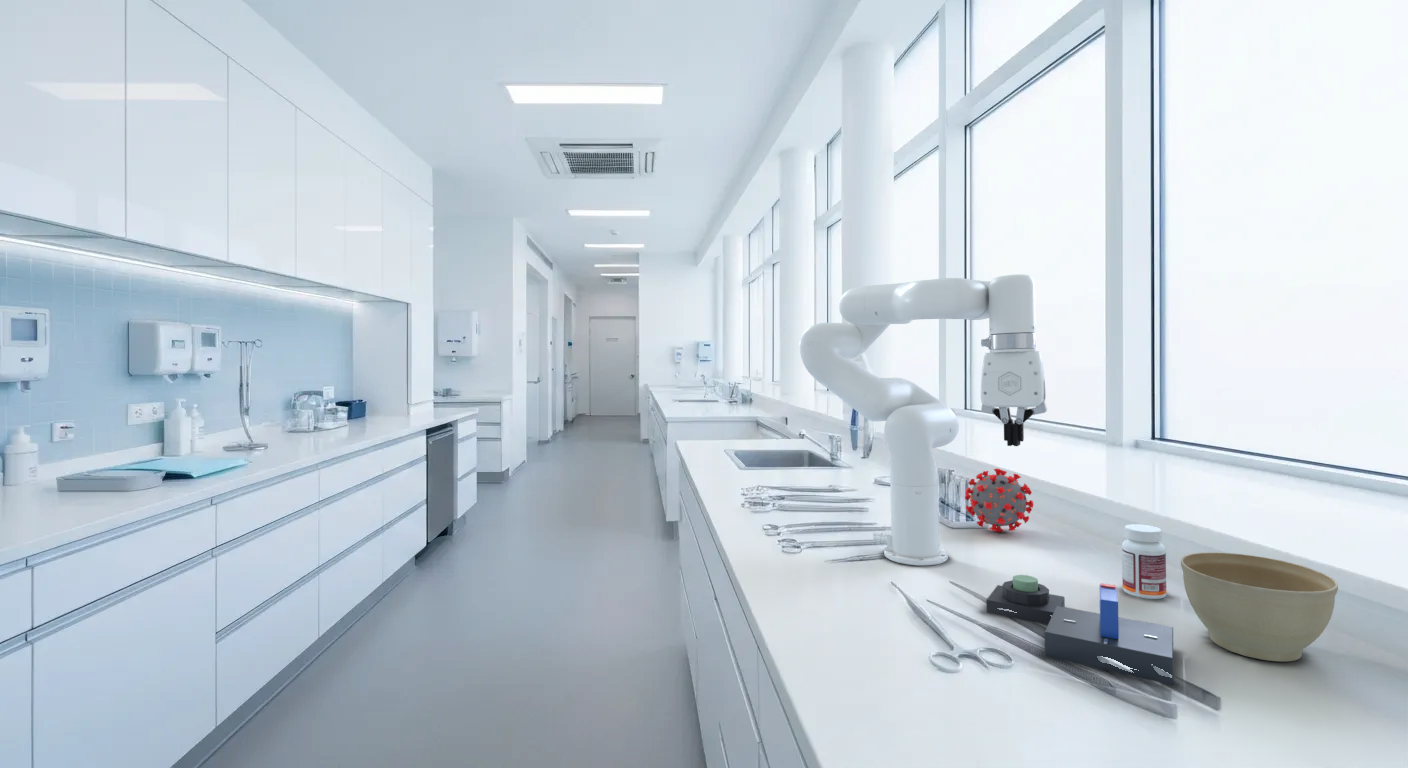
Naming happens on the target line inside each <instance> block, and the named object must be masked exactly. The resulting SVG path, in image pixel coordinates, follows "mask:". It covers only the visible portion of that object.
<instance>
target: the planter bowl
mask: <svg viewBox="0 0 1408 768" xmlns="http://www.w3.org/2000/svg"><path fill="white" fill-rule="evenodd" d="M1180 567H1181V571H1182V579H1183V586H1184V589H1185V593H1186V596H1187V599H1188V601H1189V603H1190V605H1191V607H1192V609H1193V611H1194V613H1195V614H1196V616H1197V618H1198V619H1199V620H1200V622H1201V623H1202V624H1203V625H1204V627H1205V628H1206V629H1207V633H1208V636H1209V639H1210V640H1211V641H1212V642H1213V643H1214V644H1216V645H1217V646H1218V647H1220V648H1223V649H1225V650H1227V651H1230V652H1232V653H1235V654H1238V655H1241V656H1245V657H1249V658H1253V659H1258V660H1262V661H1270V662H1281V663H1282V662H1283V663H1284V662H1294V661H1298V660H1300V659H1301V657H1302V655H1303V652H1304V649H1307V647H1309V646H1310V645H1312V644H1313V643H1314V642H1315V641H1316V640H1317V639H1318V638H1319V637H1320V636H1321V635H1322V634H1323V633H1324V631H1325V629H1326V628H1327V627H1328V625H1329V623H1330V621H1331V618H1332V616H1333V613H1334V608H1335V601H1336V595H1337V593H1338V591H1339V584H1338V582H1337V580H1336V579H1334V578H1333V577H1332V576H1330V575H1327V574H1326V573H1323V572H1322V571H1319V570H1316V569H1313V568H1310V567H1307V566H1304V565H1301V564H1297V563H1294V562H1290V561H1286V560H1282V559H1281V560H1280V559H1276V558H1271V557H1264V556H1258V555H1253V554H1243V553H1236V552H1235V553H1234V552H1219V551H1218V552H1217V551H1216V552H1215V551H1213V552H1209V551H1208V552H1194V553H1189V554H1186V555H1183V556H1182V557H1180Z"/></svg>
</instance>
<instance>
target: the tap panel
mask: <svg viewBox="0 0 1408 768" xmlns="http://www.w3.org/2000/svg"><path fill="white" fill-rule="evenodd" d="M1118 625H1119V639H1114V638H1108V637H1102V636H1101V633H1100V612H1093V611H1087V610H1082V609H1077V608H1071V607H1066V606H1065V607H1061V606H1056V609H1055V611H1054V613H1053V615H1052V617H1051V619H1050V622H1049V624H1048V625H1047V626H1046V628H1045V629H1044V630H1045V631H1044V657H1046V658H1051V659H1055V660H1060V661H1064V662H1069V663H1073V664H1077V665H1082V666H1086V667H1091V668H1094V669H1098V670H1104V671H1108V672H1112V673H1116V674H1121V675H1126V676H1130V677H1135V678H1138V679H1144V680H1146V681H1147V680H1148V681H1151V682H1157V683H1160V684H1166V685H1169V686H1174V677H1173V678H1170V677H1165V676H1161V675H1159V674H1158V673H1157V672H1156V671H1155V670H1154V668H1153V666H1156V667H1158V668H1160V669H1163V670H1164V671H1165V672H1168V673H1169V674H1171V675H1173V676H1174V627H1173V626H1169V625H1164V624H1159V623H1153V622H1148V621H1142V620H1138V619H1132V618H1126V617H1121V616H1118ZM1097 656H1103V657H1108V658H1111V659H1114V660H1116V661H1118V662H1120V663H1122V664H1123V665H1126V666H1128V667H1130V668H1133V669H1130V670H1132V671H1133V672H1134V673H1133V672H1132V673H1131V672H1128V671H1125V670H1122V669H1119V668H1118V667H1115V666H1113V665H1111V664H1107V663H1102V662H1100V661H1099V660H1098V658H1097ZM1151 664H1153V666H1151ZM1134 669H1137V670H1134ZM1138 670H1139V671H1138Z"/></svg>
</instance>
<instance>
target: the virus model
mask: <svg viewBox="0 0 1408 768" xmlns="http://www.w3.org/2000/svg"><path fill="white" fill-rule="evenodd" d="M993 471H994V472H995V474H989V470H983V471H982V472H980V473H978V474H977V475H976V476H975V478H976V479H975V478H971V479H969V481H968V485H969V487H967V488H966V489H965V496H964V500H966V501H967V502H968V501H969V502H970V506H968V505H966V506H965V510H966V511H967V512H968V513H969V514H970V515H971V517H974V516H975V515H976V516H977V519H978V520H977V521H976V524H977V526H978V527H980V528H984V523H985V524H986V525H988V524H989V525H991V527H989V530H990V531H993V532H997V533H1003V531H1004V529H1003V528H1002V527H1007V526H1008V531H1009V532H1012V531H1015V530H1016V529H1017V528H1020V526H1021V525H1022V524H1023V523H1022V522H1019V520H1021V521H1023V522H1024V524H1026V523H1027V522H1029V520H1030V516H1028V515H1026V514H1025V512H1027V513H1028V514H1031V512H1032V511H1033V508H1034V500H1032V499H1030V500H1029V501H1028V499H1027V494H1028V495H1029V496H1031V494H1033V492H1032V490H1031V488H1030V487H1029V485H1028V484H1026V483H1023V485H1022V486H1021V484H1019V482H1018V481H1019V480H1018V479H1021V478H1022V476H1021V475H1019V474H1018V473H1013V474H1012V475H1008V476H1007V473H1008V472H1007V471H1006V470H1003V469H1000V468H993ZM976 480H977V482H976ZM970 486H973V487H970Z"/></svg>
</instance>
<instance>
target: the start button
mask: <svg viewBox="0 0 1408 768" xmlns="http://www.w3.org/2000/svg"><path fill="white" fill-rule="evenodd" d="M1038 579H1039V578H1037V577H1035V576H1031V575H1027V574H1016V575H1013V576H1012V580H1013V588H1014V589H1017V590H1019V591H1025V592H1036V591H1038V584H1039V580H1038Z"/></svg>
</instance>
